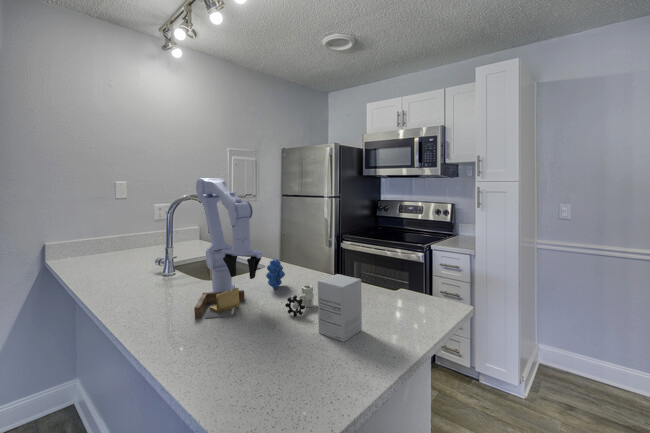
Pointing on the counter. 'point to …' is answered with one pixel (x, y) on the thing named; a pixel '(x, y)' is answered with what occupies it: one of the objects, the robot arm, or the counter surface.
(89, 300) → the counter surface
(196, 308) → the corner walls
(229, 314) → the mat
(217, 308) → the bronze bracket
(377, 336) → the counter surface
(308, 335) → the counter surface
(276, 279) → the grapes
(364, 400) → the counter surface
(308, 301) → the valve
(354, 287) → the supplement box
